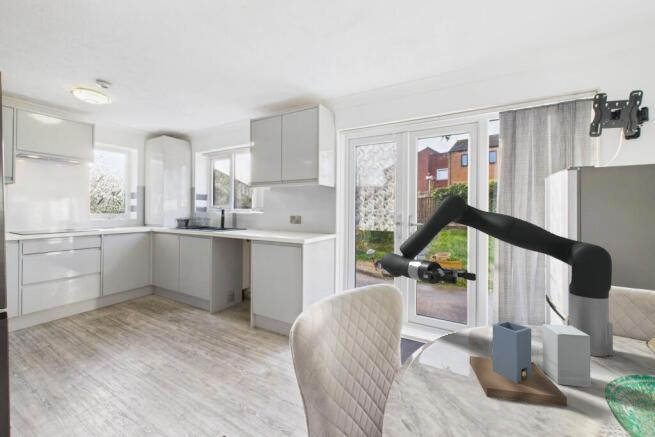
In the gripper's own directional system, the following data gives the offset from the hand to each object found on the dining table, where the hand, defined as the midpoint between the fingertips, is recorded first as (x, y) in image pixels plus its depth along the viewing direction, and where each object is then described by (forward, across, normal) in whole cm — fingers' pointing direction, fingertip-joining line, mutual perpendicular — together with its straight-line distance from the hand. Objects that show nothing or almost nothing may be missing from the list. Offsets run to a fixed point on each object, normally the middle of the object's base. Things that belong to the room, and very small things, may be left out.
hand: (465, 278), depth 86 cm
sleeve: (+14, -2, +22) cm, 26 cm away
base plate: (+14, -2, +24) cm, 27 cm away
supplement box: (+19, +12, +24) cm, 33 cm away
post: (+14, -2, +22) cm, 26 cm away
